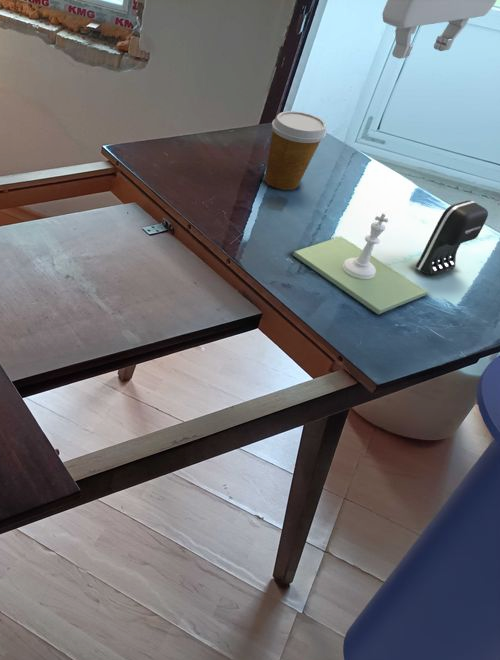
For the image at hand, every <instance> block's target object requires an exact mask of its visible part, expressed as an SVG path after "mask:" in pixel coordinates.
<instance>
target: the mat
mask: <svg viewBox="0 0 500 660" xmlns="http://www.w3.org/2000/svg"><path fill="white" fill-rule="evenodd" d="M362 251H363V249H362V248H360V247H358V246H356V245H355V244H353V243H352V242H350V241H349V240H348V239H346V238H345V237H343V236H337V237H334V238H331V239H328V240H326V241H325V240H324V241H321V242H319V243H315V244H313V245H310V246H306V247H304V248H301V249H297V250H294V251H293V254H292V256H293V257H295V258H296V259H297V260H298V261H300V262H301V263H303V264H305V265H306V266H308V267H309V268H310V269H312V270H313V271H315V272H316V273H318V274H319V275H321V276H322V277H323V278H325V279H326V280H328V282H331V283H332V284H334V285H335V286H337V287H338V288H339V289H340V290H342V291H344V293H346V294H348V295H349V296H351V297H352V298H354V299H355V300H356V301H357V302H359V303H360V304H362V305H364V306H365V307H366V308H368V309H369V310H371V311H372V312H374V313H375V314H377V315H381V314H383V313H385V312H388V311H390V310H393V309H395V308H397V307H400V306H402V305H405V304H407V303H410V302H412V301H415V300H417V299H420V298H422V297H425V296H426V295H427V293H428V290H426V289H425V288H424V287H421V286H420V285H418V284H417V283H415V282H413V281H412V280H410V279H409V278H408V277H406V276H404V275H402V274H401V273H399V272H398V271H396V270H395V269H393V268H392V267H390V266H388V265H387V264H386V263H384V262H382V261H380V260H379V259H378V258H377V257H375V256H373V255H372V254H371V255H370V259H369V262H370V263H371V264H372V265H373V266H374V267H375V268H376V273H375V276H374V277H373V278H371V279H359V278H355V277H353V276H351V275H349V274H347V273H346V272H345V271H344V270H343V268H342V265H343V263H344V262H345V260H347V259H349V258H357V257H359V255H360V254H361V252H362Z"/></svg>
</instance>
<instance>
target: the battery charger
mask: <svg viewBox="0 0 500 660" xmlns="http://www.w3.org/2000/svg"><path fill="white" fill-rule="evenodd" d="M488 217H489V211H488V209H486V208H485V207H484V206H482V205H480V204H478V203H477V202H476V201H474V200H465V201H460V202H457V203H455V204H451V205H449V206H448V207H447V208H446V209H445V210H444V211H443V212H442V215H441V216H440V218H439V219H438V222H437V224H436V225H435V227H434V229H433V230H432V233H431V235H430V236H429V239H428V241H427V243H426V245H425V248H424V250H423V251H422V254H421V256H420V257H419V259H418V261H417V262H416V265H415V268H416V269H417V270H418V271H421V272H422V273H424V274H426V275H428V276H433V277H435V276H437V275H440V274H443V273H447V272H449V271H452V270H454V269H455V267H456V261H457V260H456V257H457V252H458V249H459V247H460V246H461V244H464V243H466V242H470V241H473V240H475V239H477V238H478V237H479V234H480V233H481V231H482V229H483V227H484V225H485V224H486V221H487V220H488Z"/></svg>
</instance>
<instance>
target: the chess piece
mask: <svg viewBox="0 0 500 660" xmlns="http://www.w3.org/2000/svg"><path fill="white" fill-rule="evenodd" d="M377 221H378V222H377ZM388 222H389V218H387V217H386V213H384V212H382V213H381V215H380V216H378V215H375V217H374V222H372V223H371V224H370V234H368V235H366V236H364V240H365V242H367V243H366V244H365V246H364V247H363V249H362V250H363V251H362V252H361V254H360V255H359V257H357V258H349V259H347V260H345V262H344V263H343V265H342V268H343V270H344V271H345V272H346V273H347V274H349V275H351V276H353V277H355V278H359V279H371V278H373V277H374V276H375V273H376V268H375V267H374V266H373V265H372V264H371V263H370V262H369V259H370V255H371V256H372V252H373V248H374V246H375V245H378V244H380V242H381V240H380V238H379V237H380V235H381V234H382V233H383V232H384V231H385V230H386V226H385V224H384V223H388Z"/></svg>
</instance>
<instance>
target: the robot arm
mask: <svg viewBox="0 0 500 660" xmlns="http://www.w3.org/2000/svg"><path fill="white" fill-rule="evenodd" d="M496 3H497V0H387V1H386V2H385V5H384V8H383V11H382V15H381V16H382V22H383V23H384V24H387V25H389V26H392V27H395V30H394V33H395V45H394V47H393V49H392V53H391V55H392V57H394V58H396V59H398V60H401V59H405V58H409V56H410V55H411V51H412V50H413V47H414V44H411V41H412V35H414V34H415V33H416V31H417V28H418V27H420V26H421V27H422V26H427V25H434V24H442V23H448V24H447V26H446V27H445V29H443V31H442V33H441V34H440V35H437V36H436V39H435V42H434V44H433V49H434V50H436V51H439V52H445V51H449V50H450V49H451V47H452V45H453V43H454V41H455V39H456V38H457V37H458V36H459V34H461V32H462V31H463V30H464V29H465V27H466V26H467V24H468V21H469V20H470V19H473V18H481V17H485V16H486V15H487V14H488V13H489V12H490V11H491V10H492V9H493V7H494V6H495V4H496Z"/></svg>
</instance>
